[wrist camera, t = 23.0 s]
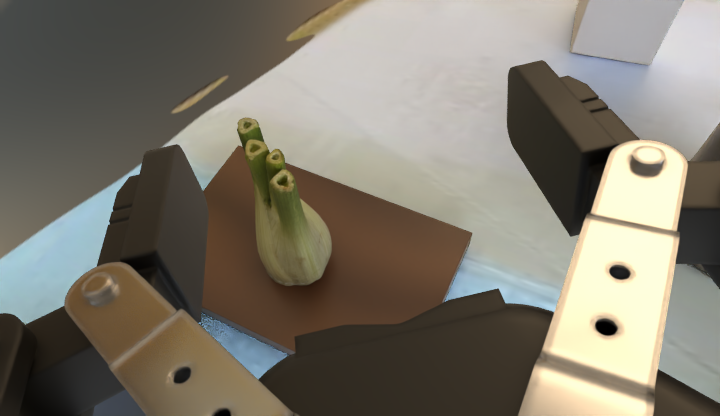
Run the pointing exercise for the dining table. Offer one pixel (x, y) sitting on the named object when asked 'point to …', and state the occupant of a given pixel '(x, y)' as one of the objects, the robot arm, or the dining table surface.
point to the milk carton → (622, 28)
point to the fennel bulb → (283, 215)
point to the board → (345, 266)
